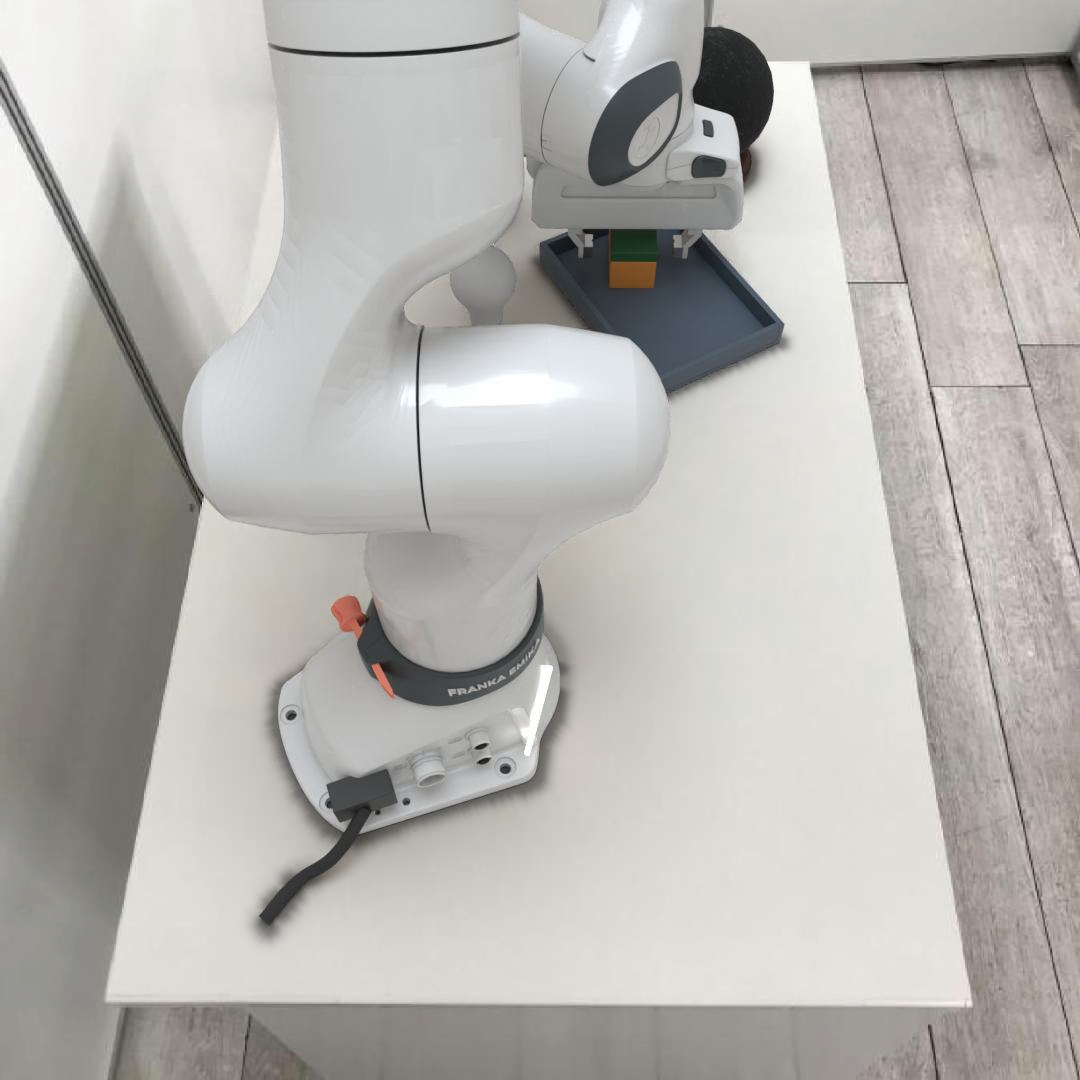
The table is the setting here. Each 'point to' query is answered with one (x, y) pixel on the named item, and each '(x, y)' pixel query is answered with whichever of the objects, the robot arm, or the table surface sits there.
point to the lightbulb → (485, 286)
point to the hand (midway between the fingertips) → (632, 254)
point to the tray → (668, 305)
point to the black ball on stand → (735, 85)
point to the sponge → (632, 258)
